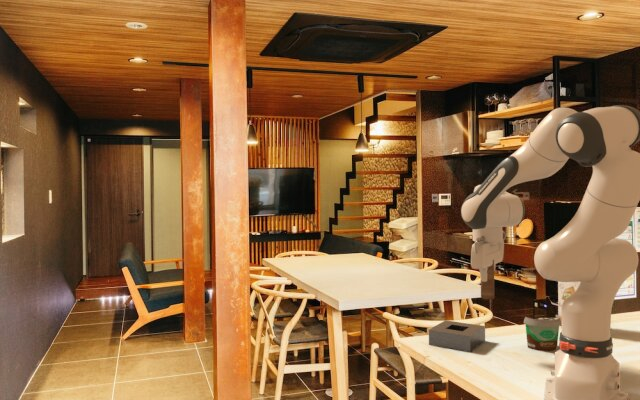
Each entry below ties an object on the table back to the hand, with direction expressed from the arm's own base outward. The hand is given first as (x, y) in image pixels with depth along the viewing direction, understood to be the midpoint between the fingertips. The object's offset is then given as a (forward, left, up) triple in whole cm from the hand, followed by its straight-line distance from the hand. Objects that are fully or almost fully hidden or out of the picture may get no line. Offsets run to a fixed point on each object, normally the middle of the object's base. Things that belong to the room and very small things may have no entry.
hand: (487, 279), depth 164 cm
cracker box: (+44, -18, -23) cm, 53 cm away
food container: (+14, -14, -23) cm, 31 cm away
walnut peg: (0, 0, -6) cm, 6 cm away
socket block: (+5, +12, -23) cm, 26 cm away
